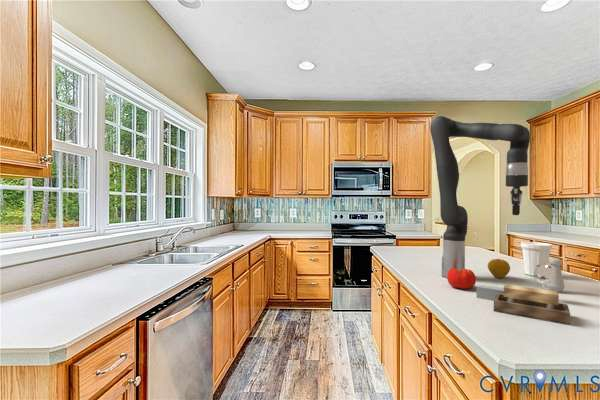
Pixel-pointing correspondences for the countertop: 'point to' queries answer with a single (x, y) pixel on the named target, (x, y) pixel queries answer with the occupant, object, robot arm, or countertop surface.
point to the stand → (488, 292)
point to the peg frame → (532, 309)
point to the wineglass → (544, 274)
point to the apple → (498, 268)
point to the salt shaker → (556, 276)
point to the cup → (535, 255)
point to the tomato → (461, 278)
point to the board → (531, 294)
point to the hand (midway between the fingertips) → (516, 214)
